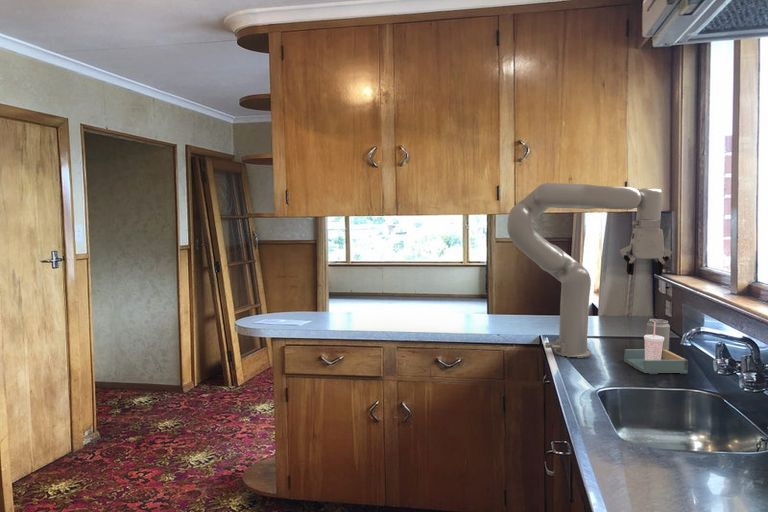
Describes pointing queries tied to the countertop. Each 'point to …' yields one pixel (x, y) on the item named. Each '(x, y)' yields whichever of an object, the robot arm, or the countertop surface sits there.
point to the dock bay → (656, 362)
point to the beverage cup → (653, 346)
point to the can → (659, 330)
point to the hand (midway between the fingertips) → (644, 274)
